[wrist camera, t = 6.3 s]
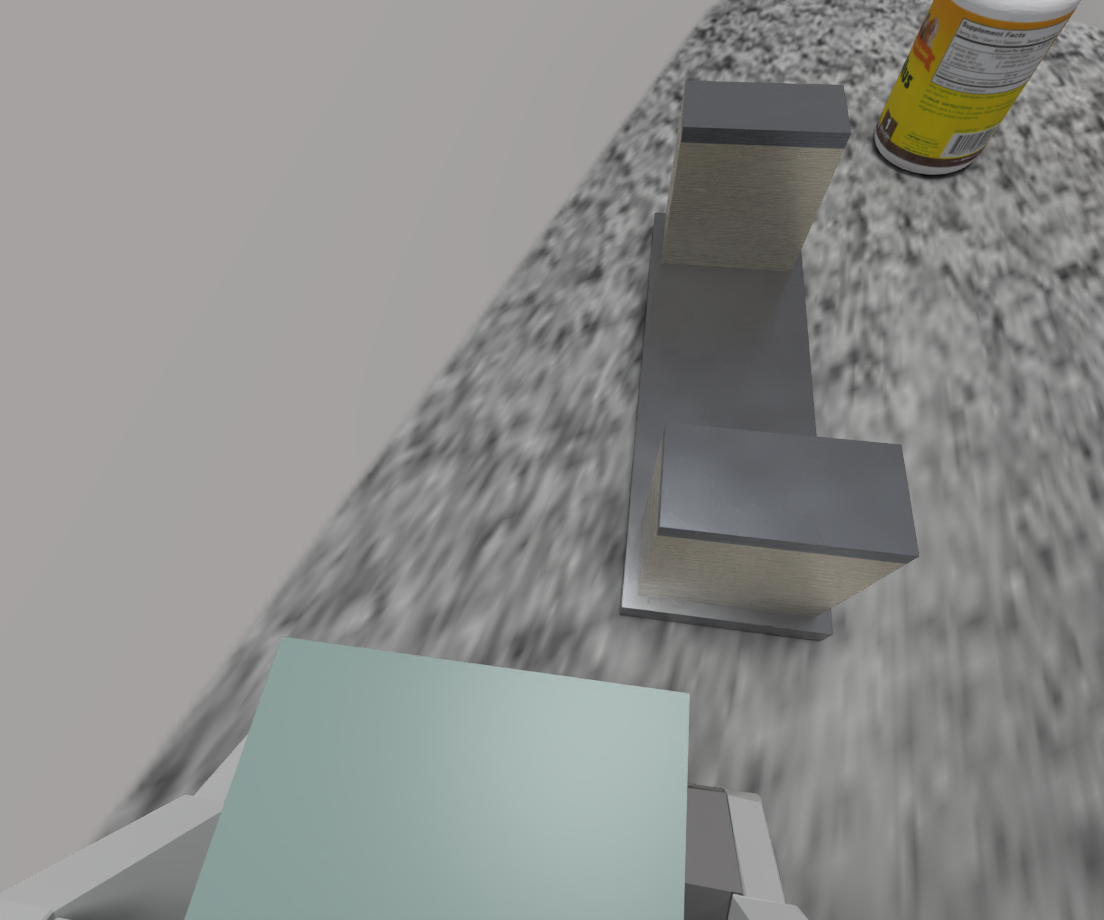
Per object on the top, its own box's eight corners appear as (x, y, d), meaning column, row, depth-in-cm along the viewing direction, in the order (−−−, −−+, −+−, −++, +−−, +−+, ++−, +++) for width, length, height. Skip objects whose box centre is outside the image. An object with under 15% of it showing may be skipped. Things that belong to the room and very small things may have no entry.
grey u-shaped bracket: (790, 239, 29) (855, 78, 22) (819, 640, 20) (946, 579, 13) (652, 232, 30) (673, 72, 23) (619, 614, 21) (637, 543, 14)
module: (640, 725, 13) (689, 693, 6) (628, 936, 12) (676, 1216, 5) (439, 696, 14) (282, 637, 7) (398, 891, 12) (129, 1078, 5)
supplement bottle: (889, 107, 33) (1003, -132, 24) (988, 137, 32) (1149, -109, 23) (853, 159, 32) (962, -81, 22) (956, 193, 30) (1119, -51, 21)
